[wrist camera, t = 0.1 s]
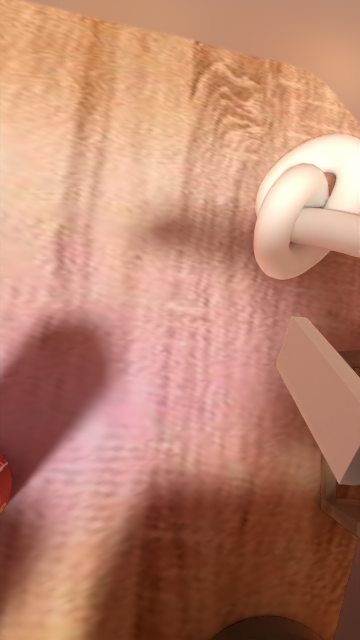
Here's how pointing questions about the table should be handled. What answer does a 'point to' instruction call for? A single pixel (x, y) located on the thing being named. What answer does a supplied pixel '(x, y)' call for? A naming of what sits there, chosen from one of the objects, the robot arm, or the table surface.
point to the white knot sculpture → (309, 206)
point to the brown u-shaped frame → (347, 512)
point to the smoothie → (4, 482)
